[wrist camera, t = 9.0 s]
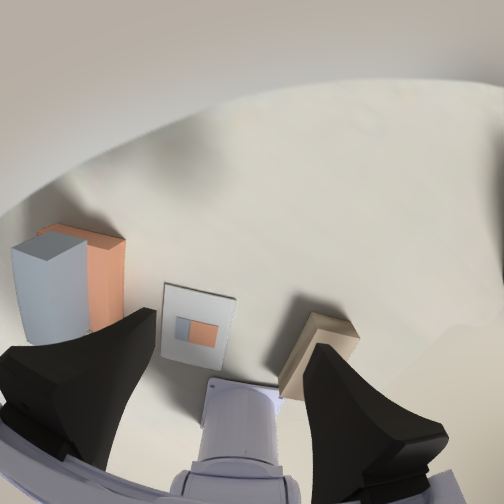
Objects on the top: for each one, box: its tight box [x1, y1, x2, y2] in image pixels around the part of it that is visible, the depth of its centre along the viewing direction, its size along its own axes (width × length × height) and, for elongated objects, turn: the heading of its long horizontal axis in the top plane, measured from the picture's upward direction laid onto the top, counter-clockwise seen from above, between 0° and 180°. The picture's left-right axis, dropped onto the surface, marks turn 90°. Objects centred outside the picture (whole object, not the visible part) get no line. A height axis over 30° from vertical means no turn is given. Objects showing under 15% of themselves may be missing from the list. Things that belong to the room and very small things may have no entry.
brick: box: [278, 312, 360, 401], centre depth 23 cm, size 4×8×3 cm, turn 162°
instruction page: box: [161, 284, 236, 371], centre depth 23 cm, size 8×6×1 cm
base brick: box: [37, 224, 126, 332], centre depth 20 cm, size 8×8×3 cm
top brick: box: [11, 231, 91, 346], centre depth 16 cm, size 8×4×5 cm, turn 168°
